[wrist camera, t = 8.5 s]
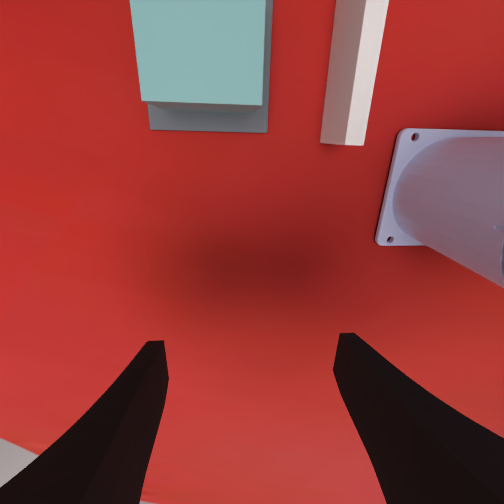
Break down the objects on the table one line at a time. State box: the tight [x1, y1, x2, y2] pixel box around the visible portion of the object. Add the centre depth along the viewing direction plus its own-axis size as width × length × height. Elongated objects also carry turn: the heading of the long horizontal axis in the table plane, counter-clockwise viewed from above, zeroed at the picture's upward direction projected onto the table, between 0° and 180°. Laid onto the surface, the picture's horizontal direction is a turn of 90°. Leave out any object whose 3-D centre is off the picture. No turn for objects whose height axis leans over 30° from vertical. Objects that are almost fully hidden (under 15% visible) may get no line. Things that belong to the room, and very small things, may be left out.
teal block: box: [130, 0, 266, 114], centre depth 13 cm, size 5×5×5 cm
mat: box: [147, 0, 273, 133], centre depth 15 cm, size 7×7×1 cm
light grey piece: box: [320, 0, 389, 145], centre depth 13 cm, size 13×12×4 cm
